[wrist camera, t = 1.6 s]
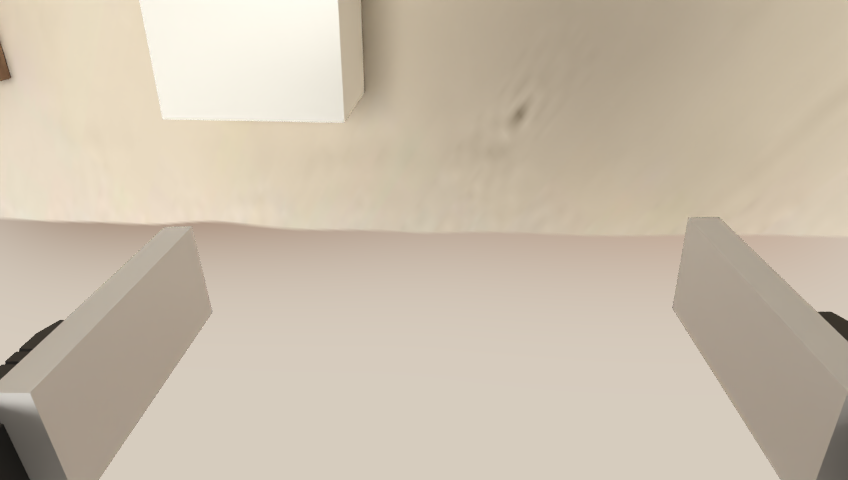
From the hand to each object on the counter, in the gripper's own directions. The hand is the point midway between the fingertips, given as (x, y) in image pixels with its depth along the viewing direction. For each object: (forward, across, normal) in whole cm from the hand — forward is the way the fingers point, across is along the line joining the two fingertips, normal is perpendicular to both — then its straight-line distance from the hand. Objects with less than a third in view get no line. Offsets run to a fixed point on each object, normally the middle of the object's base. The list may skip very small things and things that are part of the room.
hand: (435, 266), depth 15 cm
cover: (+21, -9, +5) cm, 23 cm away
